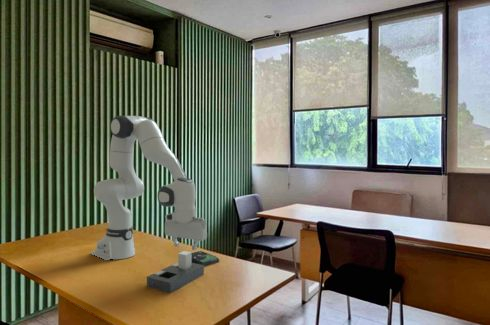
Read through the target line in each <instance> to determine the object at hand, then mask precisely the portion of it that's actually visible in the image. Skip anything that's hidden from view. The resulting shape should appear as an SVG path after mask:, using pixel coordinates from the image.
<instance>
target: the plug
mask: <svg viewBox="0 0 490 325" xmlns="http://www.w3.org/2000/svg"><path fill="white" fill-rule="evenodd" d="M192 253H193V252H191V251H186V250H183V251H180V252H179V253H178V255H177V256H178V257H177V258H178V260H177V263H178V268H180V269H184V270H187V269H189V268H191V266H192Z"/></svg>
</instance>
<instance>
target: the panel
mask: <svg viewBox="0 0 490 325" xmlns="http://www.w3.org/2000/svg"><path fill="white" fill-rule="evenodd" d="M204 269H205V266H204V265H200V264H196V263H192V266H191V268H189V269H187V270H184V269H180V268H178V262H176V263H173V264H172V265H171V264H170V265H169V266H167V267H165V268H163V269H161V270H158V271H156V272H154V273H152V274H150V275H148V276H146V287H147V288H150V289H154V290H157V291H161V292H165V293H168V294H171V293H173V292H175V291H177V290H178V289H180V288H182V287H184V286H186V285H188V284H189V283H191V282H193V281H195V280H197V279H199V277H201V276H203V275H204V274H205V270H204Z"/></svg>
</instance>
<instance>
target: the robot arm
mask: <svg viewBox="0 0 490 325" xmlns="http://www.w3.org/2000/svg"><path fill="white" fill-rule="evenodd" d="M109 126H110V132H111V134H112V135H111V136H112V137H111V139H110V140H111V141H110V150H109V167H110V168H111V169H112V170H113V171H115V172H117V174H118V178H107V179H104V180H100V181H97V182H96V183H95V185H94V187H93V195H94V197H95V199H96V200H97V201H99V202H101V204H102V205H103V206H104V207H105V210H106V212H107V222H108V223H107V224H108V227H107V228H106V229H104V231H105V232H106V233H105V235H104V236H103V237H102V238H100V239H99V240H98V241H97V243H96V249H95V250H93V251H91V253H90V254H91V256H94V255H95V257H96V256H97V258H99V257H100V258H99V259H101V258H102V260H103V259H104V260H103V261H110V259H113V260H125V259H129V258H131V257H133V256H135V255H136V248H135V243H134V236H133V233H134V229H133V228H134V227H133V219H132V218H133V214H132V211H131V209H129V208H128V207H126V206H124V203H123V200H124V201H125V200H131V199H135V198H137V197H138V198H139V197H141V196H142V195H143V194H144V192H145V185H144V182H143V180H142V179H141V178H140V177H139V176H138V175H137V173H136V171H135V167H134V154H135V152H134V151H135V142H136V141H138V144H139V147H140V150H141V152H142V155H143V157H144V158H145V159H146V160H147V161H149V162H151V163H154V164H157V165H160V166H162V167H164V168H166V170H168V171H169V173H170V175H171V177H172V179H173V182H171V183H168V184H165V185H162V186H160V188H159V189H158V191H157V201H158V203H159V204H160V205H161V206H162V207H163V208H164V207H165V208H171V207H174V211H173V212H171V213H167V214H165V216H164V219H165V221H164V234H165V235H166V237H171V239H172V242H173V244H174V247H175V248H178V247H180V241H178V239H179V238H180V239H188V240H193V244H192V245H191V249H192V250H193V251H196V250H198V246H199V243H200V242H202V241H205V240H206V239H207V238H208V232H207V222H206V220H205V219H204V218H203V217H198V216H197V215H196V214H197V208H196V198H197V197H196V195H197V194H196V185H195V181H194V180H193V179H192V178H188V176H187V174H186V172H185V170H184V169H183V167H182V164H181V163H180V161H179V159H178V157H177V155H176V154H175V153H174V152H173V151H171V149H170V148H169V146H168V144H167V143H166V141H165V138H164V136H163V133H162V131H161V129H160V127H159V126H158V124H157V122H156V121H155V120H154V119H152V118H150V117H147V116H140V115H116V116H114V117H113V118H112V119H111V122H110V125H109Z"/></svg>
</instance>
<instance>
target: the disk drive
mask: <svg viewBox="0 0 490 325" xmlns="http://www.w3.org/2000/svg"><path fill="white" fill-rule="evenodd" d="M192 263H196V264H200V265H204V267H208V266H210V265H213V264H217V263H220V258H219V257H218V256H216V255H213V254H210V253H207V252H205V251H202V250H198V251H195V252H192Z"/></svg>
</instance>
